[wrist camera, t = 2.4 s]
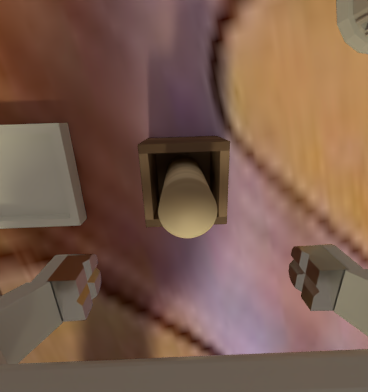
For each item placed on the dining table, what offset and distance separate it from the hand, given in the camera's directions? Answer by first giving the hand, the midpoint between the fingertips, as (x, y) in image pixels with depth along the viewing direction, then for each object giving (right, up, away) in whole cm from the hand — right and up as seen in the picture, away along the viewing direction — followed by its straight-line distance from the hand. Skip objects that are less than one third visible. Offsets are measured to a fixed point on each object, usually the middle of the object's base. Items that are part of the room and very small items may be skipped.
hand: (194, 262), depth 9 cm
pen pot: (0, +6, +18) cm, 19 cm away
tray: (-22, +5, +17) cm, 29 cm away
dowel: (0, +6, +17) cm, 18 cm away
